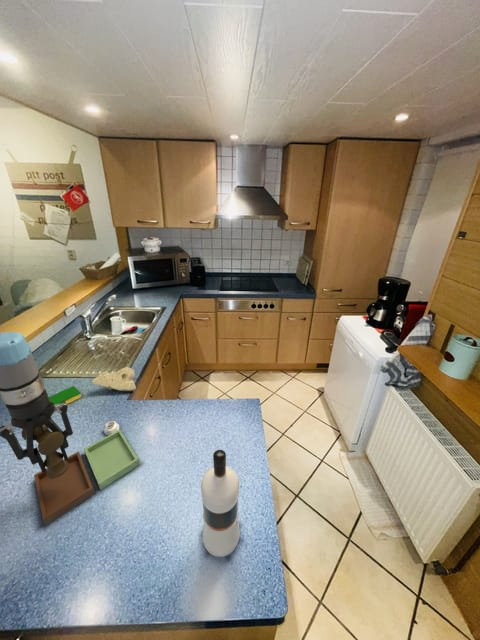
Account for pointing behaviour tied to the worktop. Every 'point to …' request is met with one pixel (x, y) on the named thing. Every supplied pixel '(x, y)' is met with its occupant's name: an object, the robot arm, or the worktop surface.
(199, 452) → the worktop surface
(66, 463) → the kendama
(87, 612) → the worktop surface
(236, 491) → the vodka
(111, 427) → the white jar
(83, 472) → the walnut tray
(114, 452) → the green tray
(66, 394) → the dish sponge
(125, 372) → the cheese
